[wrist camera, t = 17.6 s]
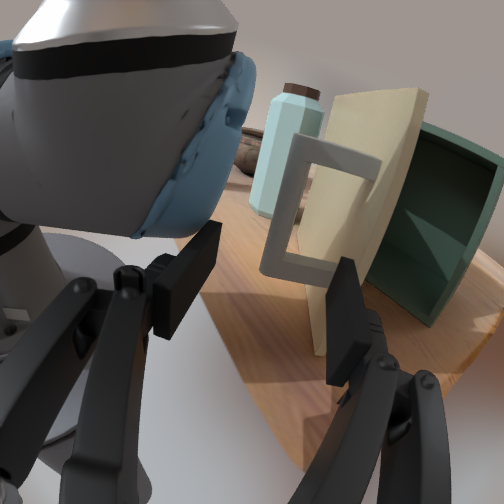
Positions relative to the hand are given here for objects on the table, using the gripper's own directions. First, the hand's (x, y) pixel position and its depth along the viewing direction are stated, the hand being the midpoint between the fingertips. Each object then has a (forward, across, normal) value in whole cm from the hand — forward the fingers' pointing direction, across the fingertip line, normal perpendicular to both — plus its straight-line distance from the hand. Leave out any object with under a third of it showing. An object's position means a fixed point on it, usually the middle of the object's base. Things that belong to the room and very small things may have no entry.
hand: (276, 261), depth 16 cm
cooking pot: (+67, -12, -12) cm, 69 cm away
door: (+18, +1, -11) cm, 21 cm away
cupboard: (+30, +20, -12) cm, 38 cm away
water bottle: (+39, -3, -12) cm, 41 cm away
